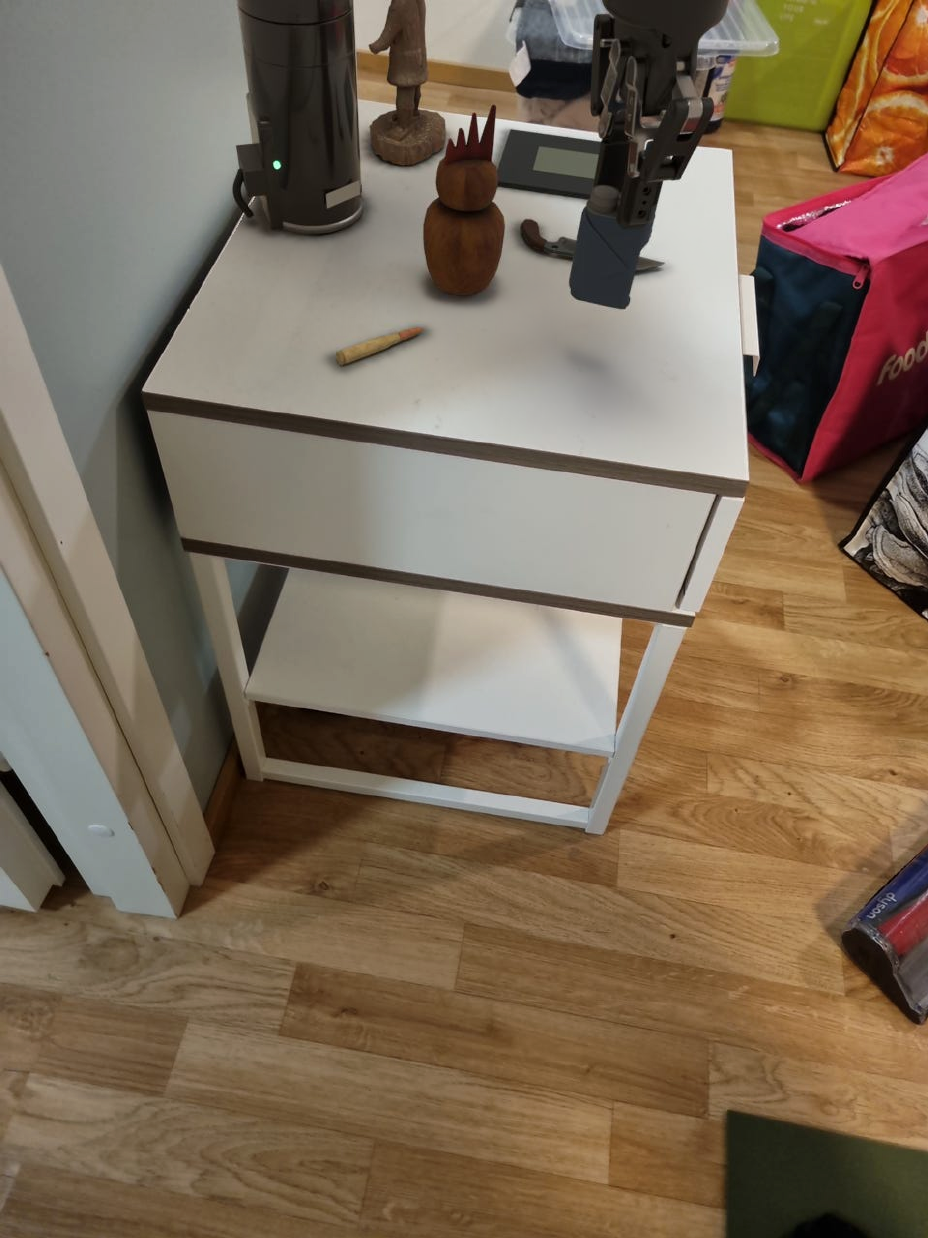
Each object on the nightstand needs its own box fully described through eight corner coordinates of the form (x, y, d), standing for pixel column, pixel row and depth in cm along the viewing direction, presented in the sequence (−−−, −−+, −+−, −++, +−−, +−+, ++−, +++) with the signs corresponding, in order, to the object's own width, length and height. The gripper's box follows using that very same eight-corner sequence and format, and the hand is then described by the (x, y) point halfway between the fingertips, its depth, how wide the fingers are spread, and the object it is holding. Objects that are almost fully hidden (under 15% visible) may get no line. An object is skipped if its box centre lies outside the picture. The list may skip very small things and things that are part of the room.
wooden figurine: (501, 269, 82) (517, 93, 70) (496, 307, 78) (512, 129, 66) (427, 262, 82) (430, 85, 70) (418, 299, 78) (420, 120, 66)
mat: (493, 185, 90) (493, 179, 90) (510, 133, 97) (510, 128, 96) (633, 205, 89) (634, 199, 89) (640, 151, 96) (641, 146, 96)
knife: (510, 244, 84) (510, 237, 83) (524, 223, 86) (524, 216, 86) (656, 282, 82) (658, 275, 81) (667, 259, 84) (668, 252, 83)
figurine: (380, 120, 97) (374, -111, 81) (450, 129, 97) (458, -102, 81) (362, 161, 92) (352, -78, 76) (435, 170, 92) (441, -68, 75)
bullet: (335, 359, 73) (342, 368, 73) (335, 349, 72) (342, 357, 72) (419, 329, 76) (426, 337, 76) (419, 319, 75) (426, 327, 75)
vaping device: (630, 313, 69) (670, 157, 60) (564, 298, 70) (592, 141, 60) (636, 294, 71) (675, 139, 61) (570, 280, 72) (599, 123, 62)
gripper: (574, -125, 54) (537, 163, 68) (673, -33, 46) (607, 271, 60) (688, -126, 56) (629, 155, 69) (802, -38, 48) (709, 259, 62)
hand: (619, 207), depth 65 cm, fingers closed on vaping device, 3 cm apart
